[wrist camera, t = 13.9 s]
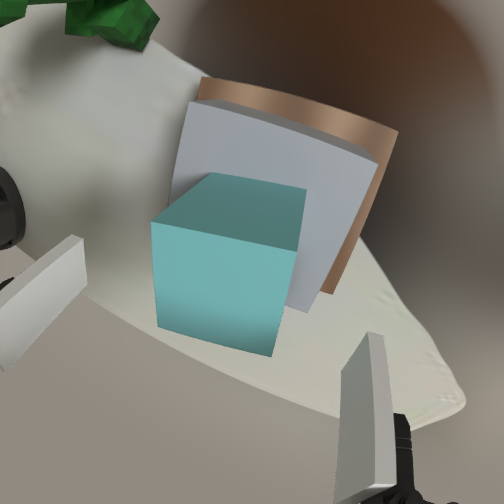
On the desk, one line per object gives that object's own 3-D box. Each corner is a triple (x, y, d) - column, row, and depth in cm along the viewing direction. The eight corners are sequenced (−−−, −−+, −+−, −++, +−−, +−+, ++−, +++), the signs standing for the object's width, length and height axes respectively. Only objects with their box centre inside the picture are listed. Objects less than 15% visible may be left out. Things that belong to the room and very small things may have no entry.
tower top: (188, 226, 28) (159, 258, 23) (219, 98, 22) (189, 101, 17) (311, 271, 28) (307, 313, 23) (364, 148, 22) (378, 164, 17)
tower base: (196, 220, 35) (174, 244, 30) (223, 79, 27) (201, 76, 22) (332, 263, 34) (332, 294, 29) (383, 124, 26) (398, 131, 20)
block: (206, 253, 22) (157, 326, 15) (212, 172, 19) (150, 221, 12) (289, 271, 21) (271, 357, 15) (307, 189, 18) (297, 252, 12)
